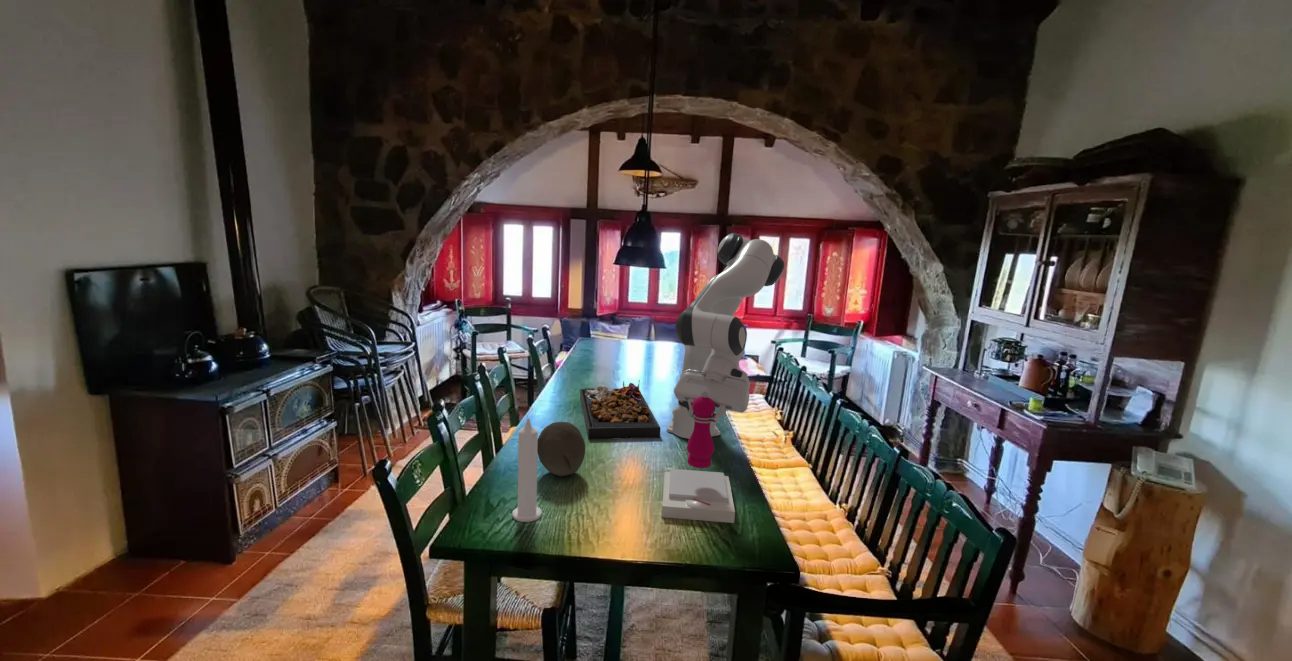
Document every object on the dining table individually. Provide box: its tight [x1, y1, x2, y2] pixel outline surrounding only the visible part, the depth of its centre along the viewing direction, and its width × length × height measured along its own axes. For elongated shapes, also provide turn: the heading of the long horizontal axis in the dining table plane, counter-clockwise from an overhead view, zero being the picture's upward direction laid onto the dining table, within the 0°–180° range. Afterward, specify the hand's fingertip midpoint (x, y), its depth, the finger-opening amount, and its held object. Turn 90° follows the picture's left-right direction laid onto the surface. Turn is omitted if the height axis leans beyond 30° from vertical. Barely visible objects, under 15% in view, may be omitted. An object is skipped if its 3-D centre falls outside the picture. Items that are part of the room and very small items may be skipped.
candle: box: [511, 417, 543, 523], centre depth 134 cm, size 7×7×25 cm
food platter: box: [579, 379, 661, 440], centre depth 210 cm, size 45×25×10 cm, turn 10°
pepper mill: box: [686, 391, 716, 469], centre depth 147 cm, size 7×7×20 cm
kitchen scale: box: [661, 468, 736, 524], centre depth 148 cm, size 20×18×4 cm
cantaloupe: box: [537, 421, 586, 477], centre depth 159 cm, size 14×14×15 cm
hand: (702, 418), depth 145 cm, fingers closed on pepper mill, 5 cm apart
